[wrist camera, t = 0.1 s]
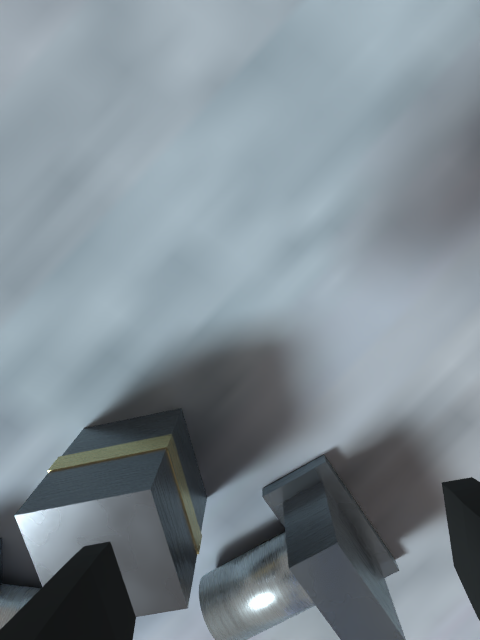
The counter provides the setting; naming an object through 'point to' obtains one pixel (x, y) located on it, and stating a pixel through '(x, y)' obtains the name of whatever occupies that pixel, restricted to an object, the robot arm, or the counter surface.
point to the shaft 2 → (307, 566)
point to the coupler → (124, 507)
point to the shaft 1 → (12, 597)
